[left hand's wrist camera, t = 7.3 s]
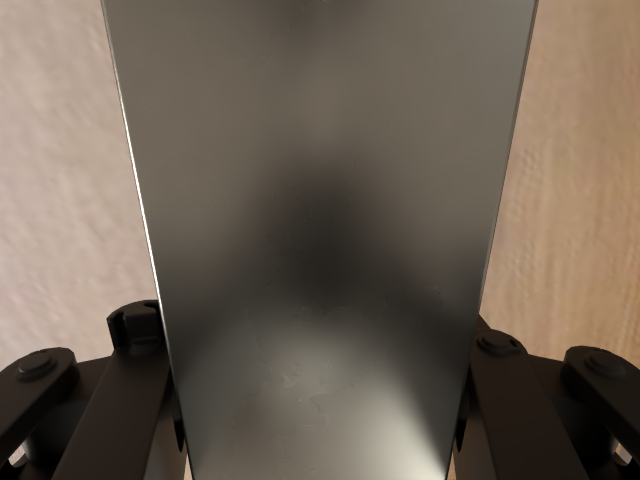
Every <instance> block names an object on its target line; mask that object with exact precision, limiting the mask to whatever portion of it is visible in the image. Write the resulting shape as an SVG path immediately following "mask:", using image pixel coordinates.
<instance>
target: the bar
mask: <svg viewBox="0 0 640 480" xmlns="http://www.w3.org/2000/svg"><path fill="white" fill-rule="evenodd" d="M538 2H539V0H101V5H102V11H103V16H104V21H105V26H106V31H107V37H108V42H109V47H110V52H111V57H112V63H113V68H114V73H115V78H116V83H117V89H118V94H119V99H120V104H121V110H122V115H123V120H124V125H125V130H126V136H127V141H128V146H129V151H130V156H131V162H132V167H133V172H134V177H135V183H136V188H137V193H138V198H139V203H140V209H141V214H142V219H143V224H144V229H145V235H146V240H147V245H148V250H149V255H150V261H151V266H152V271H153V276H154V282H155V287H156V292H157V297H158V302H159V308H160V313H161V318H162V323H163V328H164V334H165V339H166V344H167V349H168V355H169V360H170V365H171V370H172V375H173V381H174V386H175V391H176V396H177V401H178V407H179V412H180V417H181V422H182V428H183V433H184V438H185V443H186V448H187V454H188V459H189V464H190V469H191V474H192V480H447V477H448V472H449V467H450V462H451V456H452V451H453V446H454V441H455V436H456V430H457V425H458V420H459V415H460V409H461V404H462V399H463V394H464V388H465V383H466V378H467V373H468V368H469V362H470V357H471V352H472V347H473V341H474V336H475V331H476V326H477V321H478V315H479V310H480V305H481V300H482V294H483V289H484V284H485V279H486V274H487V268H488V263H489V258H490V253H491V247H492V242H493V237H494V232H495V227H496V221H497V216H498V211H499V206H500V200H501V195H502V190H503V185H504V180H505V174H506V169H507V164H508V159H509V153H510V148H511V143H512V138H513V132H514V127H515V122H516V117H517V112H518V106H519V101H520V96H521V91H522V85H523V80H524V75H525V70H526V65H527V59H528V54H529V49H530V44H531V38H532V33H533V28H534V23H535V18H536V12H537V7H538Z"/></svg>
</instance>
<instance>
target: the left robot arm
mask: <svg viewBox="0 0 640 480" xmlns="http://www.w3.org/2000/svg"><path fill="white" fill-rule="evenodd" d="M107 323H108V327H109V331H110V335H111V339H112V343H113V346H114V351H113V353H112V355H111V356H108V357H104V358H99V359H94V360H90V361H85V362H80V363H77V361H76V358H75V355H74V352H72V351H71V350H70V349H68V348H61V347H57V348H48V349H42V350H40V351H35V352H32V353H30V354H29V355H27V356H24V357H22V358H20V359H18V360H16V361H15V362H13V363H12V364H10V365H9V366H7V367H6V368H5V369H3V370H2V371H1V372H0V480H184V473H185V465H186V457H187V448H186V443H185V438H184V433H183V428H182V422H181V417H180V412H179V407H178V401H177V396H176V391H175V386H174V381H173V375H172V370H171V365H170V360H169V355H168V349H167V344H166V339H165V334H164V328H163V323H162V318H161V313H160V308H159V302H158V300H143V301H138V302H133V303H130V304H128V305H125V306H122V307H121V308H119V309H117V310H115V311H114V312H112V313H111V314H110V315H109V316H108V317H107ZM618 443H620V444H621V445H622V446H623V447H624V448H625V449H626V451H627V452H628V453H629V454H630V455H631V456H632V459H631V461H630V463H629V464H627V463H626V462H625V461H624V460H622V459H621V457H620V456H619V455H618V454H617V453H616V452H615V450H616V448H617V446H618ZM21 444H22V446H23V449H24V451H25V454H24V455H23V456H22V457H21V458H20V459H19V460H18V461H17V462H16V463H15V464H14V465H11V464H10V462H9V460H8V458H9V457H10V456H11V455H12V454H13V453H14V452H15V451H16V450H17V448H18V447H19V446H20V445H21ZM453 457H454V465H455V473H456V480H640V370H639V369H638V368H637V367H635V366H634V365H633V364H631V363H629V362H628V361H626V360H625V359H623V358H622V357H620V356H617V355H615V354H613V353H611V352H610V351H607V350H604V349H600V348H596V347H589V346H575V347H571V348H570V349H568V350H567V351H566V354H565V357H564V360H563V361H558V360H553V359H548V358H543V357H538V356H534V355H530V354H528V353H527V351H526V349H525V347H524V346H523V345H522V344H521V342H519V341H518V340H517V339H515V338H514V337H512V336H511V335H508V334H506V333H504V332H501V331H498V330H494V329H491V328H490V327H489V326H488V325H487V323H486V322H485V321H484V320H483V318H482V317H481V316H480V314H479V315H478V321H477V326H476V331H475V336H474V341H473V347H472V352H471V357H470V362H469V368H468V373H467V378H466V383H465V388H464V394H463V399H462V404H461V409H460V415H459V420H458V425H457V430H456V436H455V441H454V446H453Z"/></svg>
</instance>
